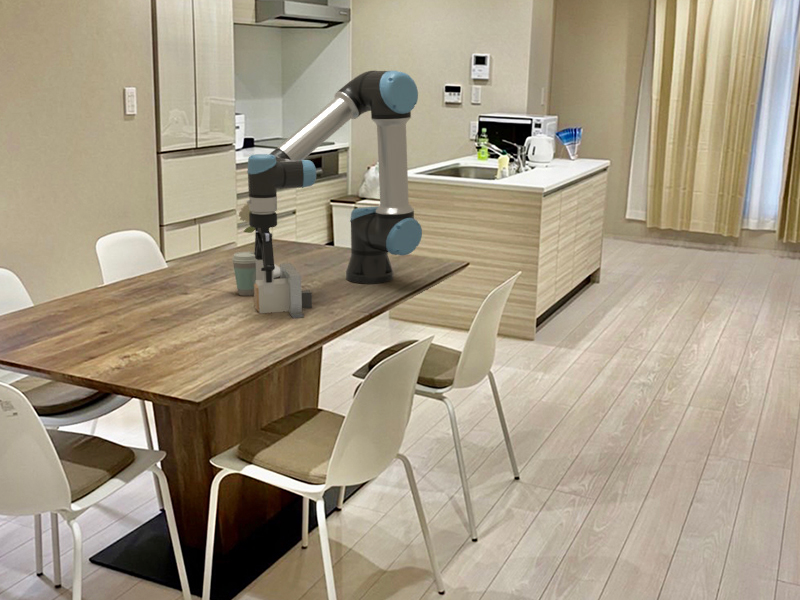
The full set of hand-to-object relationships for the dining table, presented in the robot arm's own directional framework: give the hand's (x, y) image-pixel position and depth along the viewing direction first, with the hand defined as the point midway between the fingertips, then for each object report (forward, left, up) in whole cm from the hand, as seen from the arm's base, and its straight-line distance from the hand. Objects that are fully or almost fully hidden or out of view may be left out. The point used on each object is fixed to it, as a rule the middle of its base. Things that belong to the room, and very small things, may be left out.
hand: (264, 287), depth 246 cm
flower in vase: (-5, -38, -7) cm, 39 cm away
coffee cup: (+2, -20, -7) cm, 21 cm away
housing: (-7, 0, -6) cm, 10 cm away
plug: (-5, 0, -6) cm, 8 cm away
